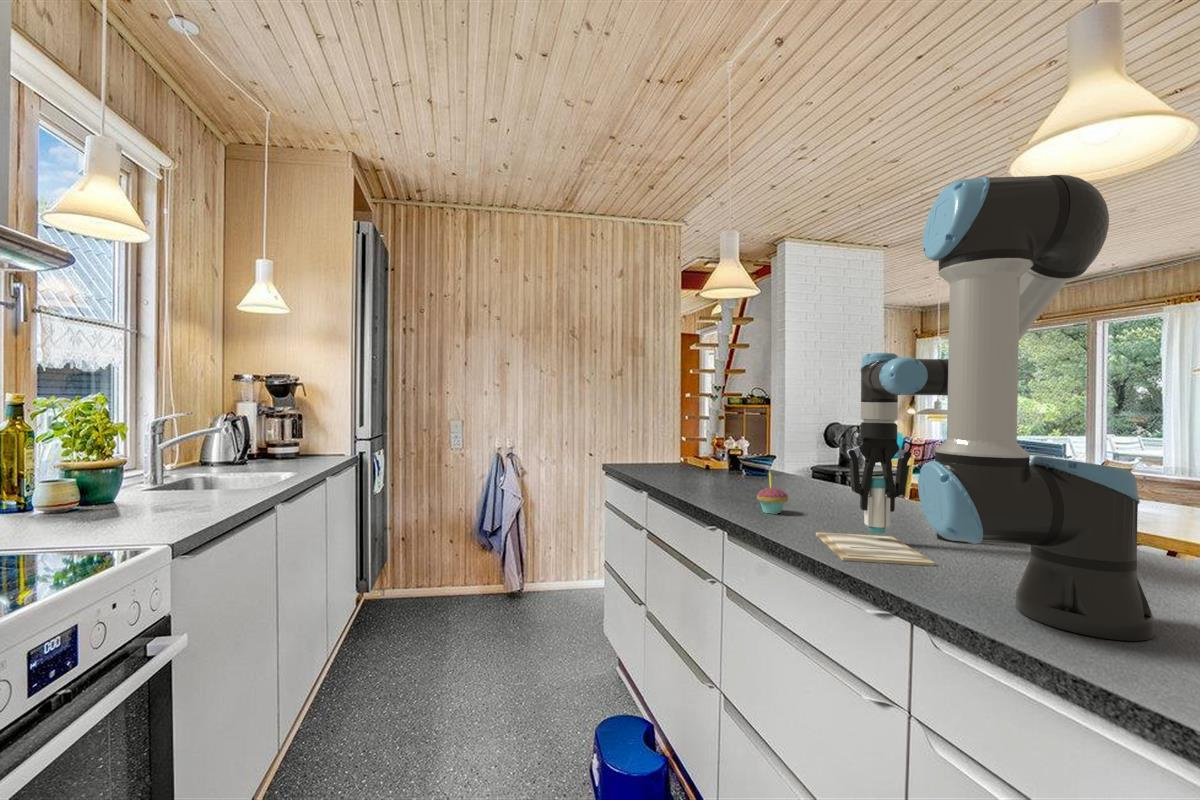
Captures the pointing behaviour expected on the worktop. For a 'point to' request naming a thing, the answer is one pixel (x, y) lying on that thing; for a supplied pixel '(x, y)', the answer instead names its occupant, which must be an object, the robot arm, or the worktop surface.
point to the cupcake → (772, 498)
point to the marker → (878, 504)
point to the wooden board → (872, 549)
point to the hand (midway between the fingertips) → (876, 525)
